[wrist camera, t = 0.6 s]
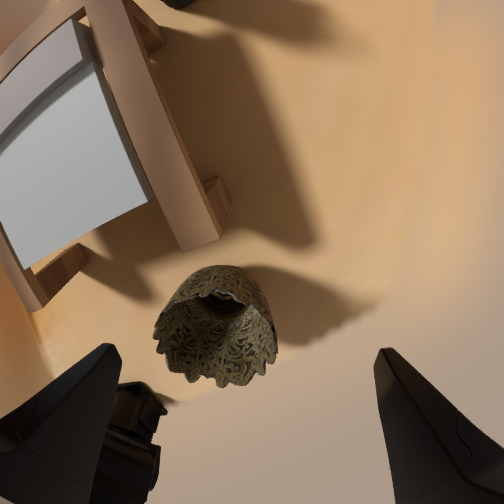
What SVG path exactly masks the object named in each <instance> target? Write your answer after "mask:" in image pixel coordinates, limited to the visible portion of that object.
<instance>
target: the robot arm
mask: <svg viewBox="0 0 504 504" xmlns="http://www.w3.org/2000/svg"><path fill="white" fill-rule="evenodd" d="M121 367H122V359H121V357H120V355H119V353H118V351H117V349H116V347H115V345H114V344H110V343H102V344H101V345H100V346H98V347H97V348H96V349H94V350H93V351H92V352H90V353H89V354H88V355H86V356H85V357H84V358H82V359H81V360H80V361H78V362H77V363H76V364H74V365H73V366H72V367H71V368H69V369H68V370H67V371H65V372H64V373H63V374H61V375H60V376H59V377H57V378H56V379H55V380H53V381H52V382H51V383H50V384H48V385H47V386H46V387H44V388H43V389H42V390H40V391H39V392H38V393H37V394H36V395H34V396H33V397H31V398H30V399H29V400H28V401H26V402H25V403H23V404H22V405H21V406H19V407H18V408H16V409H15V410H13V411H12V412H10V413H9V414H7V415H6V416H4V417H3V418H1V419H0V504H144V503H145V502H146V501H147V496H148V492H149V491H152V489H153V488H154V486H155V484H156V482H157V478H158V474H159V465H160V452H161V446H159V445H154V444H152V443H151V441H152V437H153V433H155V432H156V430H157V426H158V422H159V418H160V416H162V415H167V413H168V411H167V410H166V409H165V408H164V407H163V406H162V405H161V404H160V403H159V402H158V401H157V400H156V398H155V397H154V396H153V395H152V394H151V393H150V392H149V391H148V390H147V389H146V388H145V386H144V385H143V384H142V383H140V382H131V383H124V384H118V381H119V376H120V372H121ZM374 377H375V385H376V393H377V402H378V409H379V414H380V419H381V423H382V428H383V433H384V438H385V443H386V448H387V452H388V458H389V464H390V470H391V476H392V481H393V488H394V495H395V502H396V504H504V448H503V447H501V446H500V445H499V444H497V443H496V442H495V441H494V440H492V439H491V438H490V437H489V436H487V435H486V434H485V433H483V432H482V431H481V430H480V429H478V428H477V427H476V426H475V425H474V424H473V423H472V422H471V421H469V420H468V419H467V418H466V417H465V416H464V415H463V414H462V413H461V412H460V411H458V409H457V408H456V407H455V406H454V405H453V404H452V403H451V402H450V401H449V400H447V398H445V397H444V396H443V395H442V394H441V393H440V392H439V391H438V390H437V389H436V388H435V387H434V386H433V385H432V384H431V383H430V382H429V381H428V380H427V379H426V378H424V377H423V376H422V375H421V374H420V373H419V372H418V371H417V370H416V369H415V368H414V367H413V366H412V365H411V364H410V363H408V362H407V361H406V360H405V359H404V358H403V357H402V356H401V355H400V354H399V353H398V352H397V351H396V350H394V349H393V348H391V347H388V348H381V349H380V350H379V353H378V356H377V358H376V360H375V363H374Z"/></svg>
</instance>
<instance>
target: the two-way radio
mask: <svg viewBox="0 0 504 504" xmlns="http://www.w3.org/2000/svg"><path fill="white" fill-rule="evenodd" d="M161 1H163V2H164V3H165V4H166V5H168V6H169V7H172V8H180V7H183V6H186V5H189V4H191V3H192V2H194V1H195V0H161Z"/></svg>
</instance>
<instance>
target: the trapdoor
mask: <svg viewBox="0 0 504 504" xmlns="http://www.w3.org/2000/svg"><path fill="white" fill-rule="evenodd" d="M102 68H104V67H103V64H102V61H101V58H100V55H99V52H98V49H97V46H96V43H95V40H94V37H93V34H92V31H91V28H90V27H88V26H86V25H84V24H82V23H80V22H78V21H76V20H74V19H70V20H68V21H67V22H66V23H64V24H63V25H62V26H61V27H59V28H58V29H57V30H56V31H55V32H53V33H52V34H51V35H50V36H49V37H47V38H46V39H45V40H44V41H43V42H42V43H41V44H39V45H38V46H37V47H36V48H35V49H34V50H33V51H32V52H31V53H30V54H29V55H28V56H27V57H26V58H25V59H24V60H23V61H22V62H21V63H20V64H19V65H18V66H17V67H16V68H15V69H14V70H13V71H12V72H11V73H10V74H9V75H8V76H7V78H6V79H5V80H4V81H3V82H2V83H1V84H0V221H1V223H2V225H3V228H4V230H5V232H6V234H7V236H8V239H9V241H10V243H11V245H12V247H13V249H14V251H15V253H16V255H17V257H18V259H19V261H20V263H21V264H22V266H23V268H24V270H25V269H27V268H28V267H30V266H31V265H33V264H35V263H36V262H38V261H39V260H41V259H43V258H44V257H46V256H47V255H49V254H51V253H52V252H54V251H56V250H57V249H59V248H61V247H63V246H64V245H66V244H68V243H69V242H71V241H73V240H75V239H77V238H78V237H80V236H82V235H84V234H85V233H87V232H89V231H91V230H93V229H95V228H96V227H98V226H100V225H102V224H104V223H106V222H108V221H110V220H112V219H114V218H116V217H118V216H119V215H121V214H123V213H125V212H127V211H129V210H131V209H133V208H136V207H138V206H140V205H142V204H144V203H146V202H148V201H149V200H151V199H152V198H153V197H154V195H153V193H152V191H151V188H150V186H149V184H148V182H147V179H146V177H145V175H144V173H143V170H142V168H141V166H140V164H139V161H138V159H137V157H136V154H135V152H134V149H133V147H132V145H131V142H130V140H129V137H128V135H127V133H126V130H125V128H124V125H123V123H122V120H121V118H120V115H119V112H118V110H117V107H116V105H115V102H114V99H113V97H112V94H111V91H110V89H109V86H108V83H107V80H106V77H105V75H104V72H103V69H102Z"/></svg>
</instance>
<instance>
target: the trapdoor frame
mask: <svg viewBox="0 0 504 504" xmlns="http://www.w3.org/2000/svg"><path fill="white" fill-rule="evenodd" d="M86 15H87V17H88V21H89V24H90V27H91V31H92V34H93V37H94V40H95V43H96V46H97V49H98V52H99V55H100V58H101V61H102V64H103V67H104V70H105V73H106V76H107V79H108V81H109V84H110V87H111V90H112V92H113V95H114V98H115V100H116V103H117V105H118V108H119V111H120V113H121V116H122V118H123V121H124V123H125V126H126V128H127V131H128V133H129V136H130V138H131V141H132V143H133V145H134V148H135V150H136V152H137V155H138V157H139V160H140V162H141V164H142V166H143V169H144V171H145V173H146V176H147V178H148V180H149V182H150V185H151V187H152V189H153V191H154V193H155V196H156V198H157V200H158V202H159V204H160V206H161V208H162V211H163V213H164V215H165V217H166V219H167V221H168V223H169V225H170V227H171V229H172V231H173V234H174V236H175V238H176V240H177V242H178V244H179V246H180V248H181V250H182V252H186V251H189V250H191V249H194V248H197V247H199V246H202V245H205V244H208V243H210V242H213V241H216V240H218V239H220V237H221V234H222V230H223V227H224V224H225V220H226V217H227V214H228V210H229V207H230V204H231V199H230V196H229V194H228V192H227V189H226V187H225V184H224V182H223V180H222V177H221V176H219V177H216V178H214V179H211V180H209V181H206V182H204V183H201V182H200V180H199V178H198V175H197V173H196V171H195V168H194V166H193V164H192V161H191V159H190V156H189V154H188V152H187V149H186V147H185V145H184V142H183V140H182V138H181V135H180V133H179V130H178V128H177V126H176V123H175V121H174V118H173V116H172V114H171V111H170V109H169V106H168V104H167V101H166V99H165V97H164V94H163V92H162V89H161V87H160V84H159V82H158V79H157V77H156V74H155V72H154V69H153V67H152V64H151V62H150V59H149V57H148V53H150V52H152V51H153V50H155V49H157V48H159V47H161V46H163V45H166V43H165V41H164V38H163V36H162V33H161V31H160V29H159V26H158V25H157V24H156V23H155V22H154V21H153V20H152V19H151V18H150V17H149V16H148V15H147V14H146V13H145V12H144V11H143V10H142V9H141V8H140V7H139V6H138V5H137V4H136V3H135V2H134V1H133V0H59V1H58V2H57V3H56V4H54V5H53V6H52V7H51V8H49V9H48V10H47V11H46V12H45V13H43V14H42V15H41V16H40V17H39V18H38V19H37V20H36V21H35V22H33V23H32V24H31V25H30V26H29V27H28V28H27V29H26V30H25V31H24V32H23V33H22V34H21V35H20V36H19V37H18V38H17V39H16V40H15V41H14V42H13V43H12V44H11V45H10V46H9V47H8V48H7V49H6V50H5V52H4V53H3V54H2V55H1V56H0V84H1V83H2V82H3V81H4V80H5V79H6V78H7V76H8V75H9V74H10V73H11V72H12V71H13V70H14V69H15V68H16V67H17V66H18V65H19V64H20V63H21V62H22V61H23V60H24V59H25V58H26V57H27V56H28V55H29V54H30V53H31V52H32V51H33V50H34V49H35V48H36V47H37V46H38V45H39V44H41V43H42V42H43V41H44V40H45V39H46V38H47V37H49V36H50V35H51V34H52V33H53V32H55V31H56V30H57V29H58V28H59V27H61V26H62V25H63V24H64V23H66V22H67V21H68V20H70V19H74V20H76V21H79V20H80V19H82V18H83V17H85V16H86ZM0 263H1V265H2V267H3V268H4V270H5V272H6V274H7V275H8V278H9V279H10V281H11V283H12V285H13V287H14V288H15V290H16V292H17V293H18V295H19V297H20V298H21V300H22V301H23V303H24V305H25V306H26V308H27V309H28V311H29V312H30V314H31V313H33V312H35V311H38V310H40V309H42V308H44V307H45V306H46V304H47V303H48V302H49V301H50V300H51V299H52V298H53V297H54V296H55V295H56V294H57V293H58V292H59V291H60V290H61V289H62V288H63V287H64V286H65V285H66V284H67V283H68V282H69V281H70V280H71V279H72V278H73V277H74V276H75V275H76V274H77V273H78V272H79V271H80V270H81V269H82V268H83V267H84V266H85V265H86V264H87V263H88V260H87V258H86V256H85V255H84V253H83V251H82V249H81V247H80V245H79V243H76V244H75V245H73V246H71V247H69V248H68V249H66V250H64V251H63V252H62V253H60V254H59V255H58V256H57V257H55V258H54V259H53V260H52V261H51V262H49V263H48V264H47V265H46V266H45V267H43V268H42V269H41V270H40V271H39V272H37V273H36V274H35V275H34V273H33V272H32V270H31V268H30V267H28V268H27V269H25V270H24V268H23V266H22V264H21V263H20V261H19V259H18V257H17V255H16V253H15V251H14V249H13V247H12V245H11V243H10V241H9V239H8V236H7V234H6V232H5V230H4V228H3V225H2V223H1V221H0Z"/></svg>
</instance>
